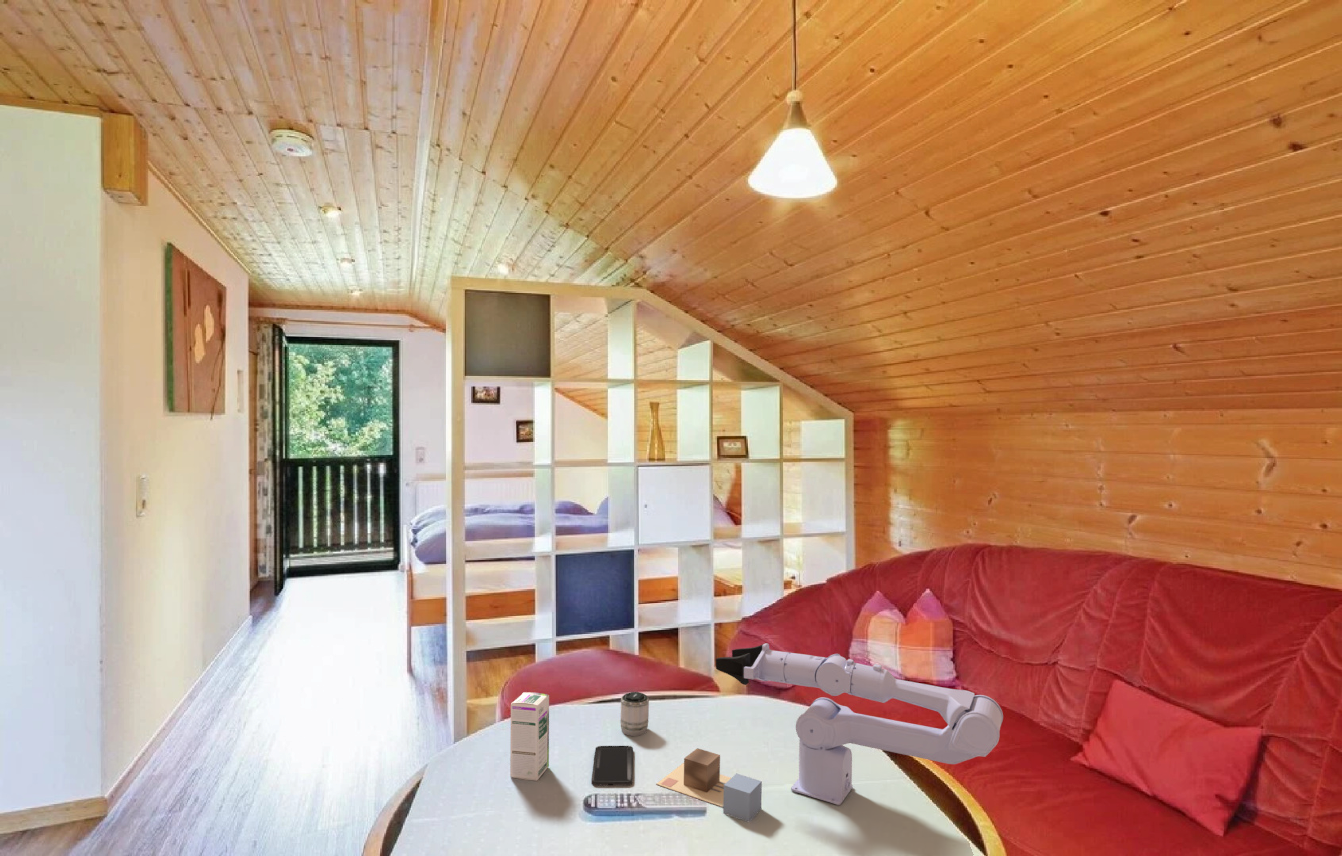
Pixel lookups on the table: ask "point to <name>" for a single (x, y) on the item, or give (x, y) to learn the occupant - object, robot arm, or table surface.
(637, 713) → the camera lens
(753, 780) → the cube
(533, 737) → the syrup box
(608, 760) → the phone
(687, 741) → the table surface
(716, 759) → the walnut block
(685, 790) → the envelope
